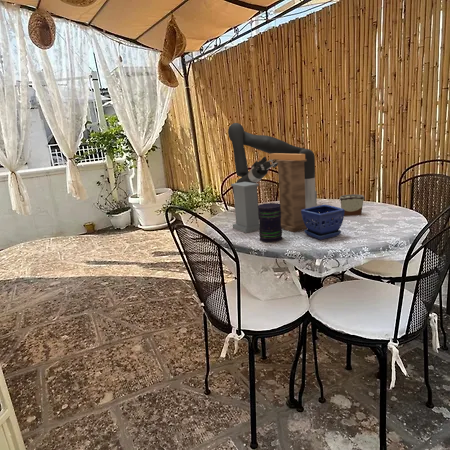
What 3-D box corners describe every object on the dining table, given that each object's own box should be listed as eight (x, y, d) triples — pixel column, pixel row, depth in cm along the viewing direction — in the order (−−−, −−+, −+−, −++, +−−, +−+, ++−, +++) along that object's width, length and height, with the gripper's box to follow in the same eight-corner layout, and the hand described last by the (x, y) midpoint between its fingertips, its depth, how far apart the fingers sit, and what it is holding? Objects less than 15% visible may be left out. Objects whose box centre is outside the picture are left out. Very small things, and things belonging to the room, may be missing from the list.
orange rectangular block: (269, 159, 173) (269, 153, 173) (274, 158, 175) (274, 153, 174) (299, 160, 154) (299, 154, 154) (305, 159, 156) (305, 153, 155)
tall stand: (277, 227, 173) (273, 160, 165) (293, 223, 177) (290, 158, 169) (293, 232, 163) (290, 161, 155) (310, 227, 167) (308, 158, 159)
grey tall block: (232, 228, 178) (229, 184, 173) (249, 224, 183) (246, 181, 177) (245, 233, 168) (242, 186, 163) (263, 228, 173) (260, 183, 167)
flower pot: (320, 242, 146) (319, 214, 143) (300, 235, 158) (299, 208, 155) (345, 236, 151) (345, 208, 148) (325, 229, 163) (324, 203, 160)
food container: (361, 212, 187) (361, 193, 184) (364, 215, 181) (364, 195, 178) (337, 213, 188) (336, 195, 186) (339, 216, 182) (339, 197, 180)
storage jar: (279, 242, 150) (278, 208, 146) (257, 242, 153) (254, 208, 150) (284, 235, 159) (282, 202, 155) (262, 235, 162) (260, 203, 159)
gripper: (243, 167, 185) (258, 152, 170) (266, 164, 191) (282, 149, 177) (248, 181, 183) (263, 166, 169) (271, 177, 189) (287, 162, 175)
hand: (273, 157), depth 173 cm, fingers open, 8 cm apart
